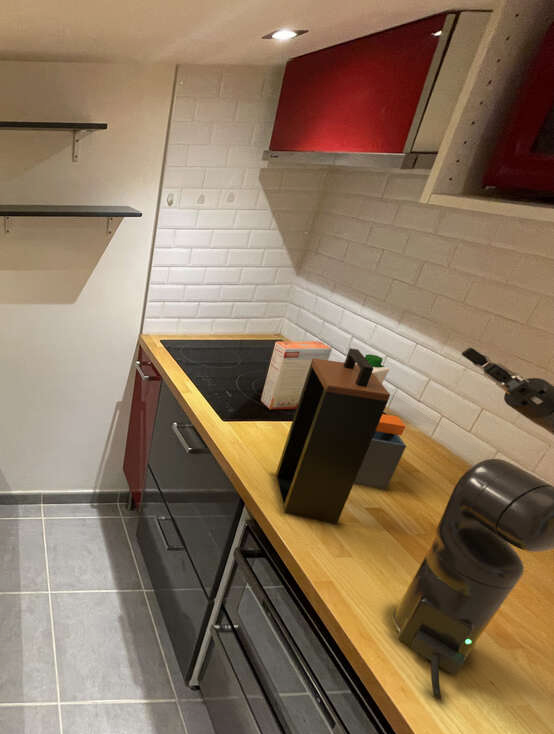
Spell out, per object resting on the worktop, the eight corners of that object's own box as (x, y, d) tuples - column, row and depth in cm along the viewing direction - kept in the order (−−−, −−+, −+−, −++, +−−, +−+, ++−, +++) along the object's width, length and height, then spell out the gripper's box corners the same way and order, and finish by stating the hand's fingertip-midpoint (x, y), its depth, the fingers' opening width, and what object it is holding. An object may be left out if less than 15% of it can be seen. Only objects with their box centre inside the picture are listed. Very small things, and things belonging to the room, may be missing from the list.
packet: (393, 425, 108) (397, 416, 106) (401, 435, 104) (405, 426, 103) (327, 414, 112) (330, 405, 110) (332, 423, 108) (336, 414, 107)
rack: (321, 485, 106) (373, 348, 91) (336, 524, 95) (398, 375, 80) (275, 475, 109) (317, 341, 94) (284, 512, 98) (334, 366, 83)
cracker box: (301, 400, 143) (320, 340, 134) (313, 410, 138) (334, 348, 129) (258, 400, 142) (275, 340, 134) (269, 410, 137) (286, 348, 128)
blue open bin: (367, 456, 117) (384, 415, 111) (386, 489, 105) (406, 446, 100) (309, 445, 121) (323, 405, 115) (321, 476, 109) (337, 433, 104)
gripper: (539, 377, 97) (476, 333, 97) (590, 410, 84) (517, 359, 85) (503, 400, 100) (442, 357, 101) (547, 434, 88) (478, 385, 89)
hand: (477, 358), depth 93 cm, fingers open, 8 cm apart
